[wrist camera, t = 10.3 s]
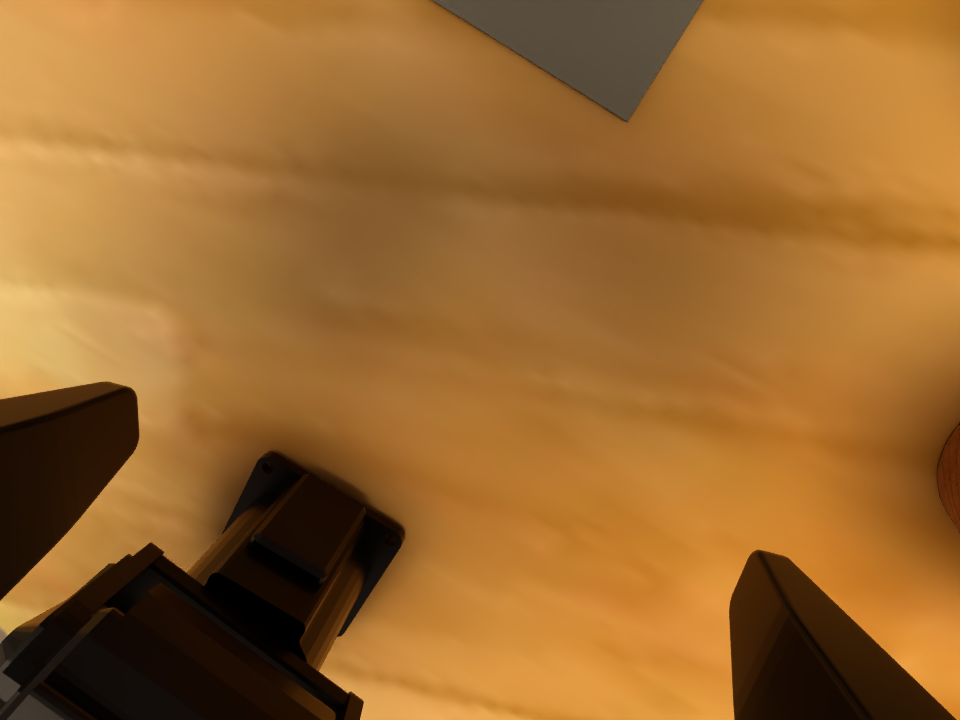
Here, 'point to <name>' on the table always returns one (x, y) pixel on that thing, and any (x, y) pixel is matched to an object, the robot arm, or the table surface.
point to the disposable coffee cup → (950, 477)
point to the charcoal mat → (587, 40)
